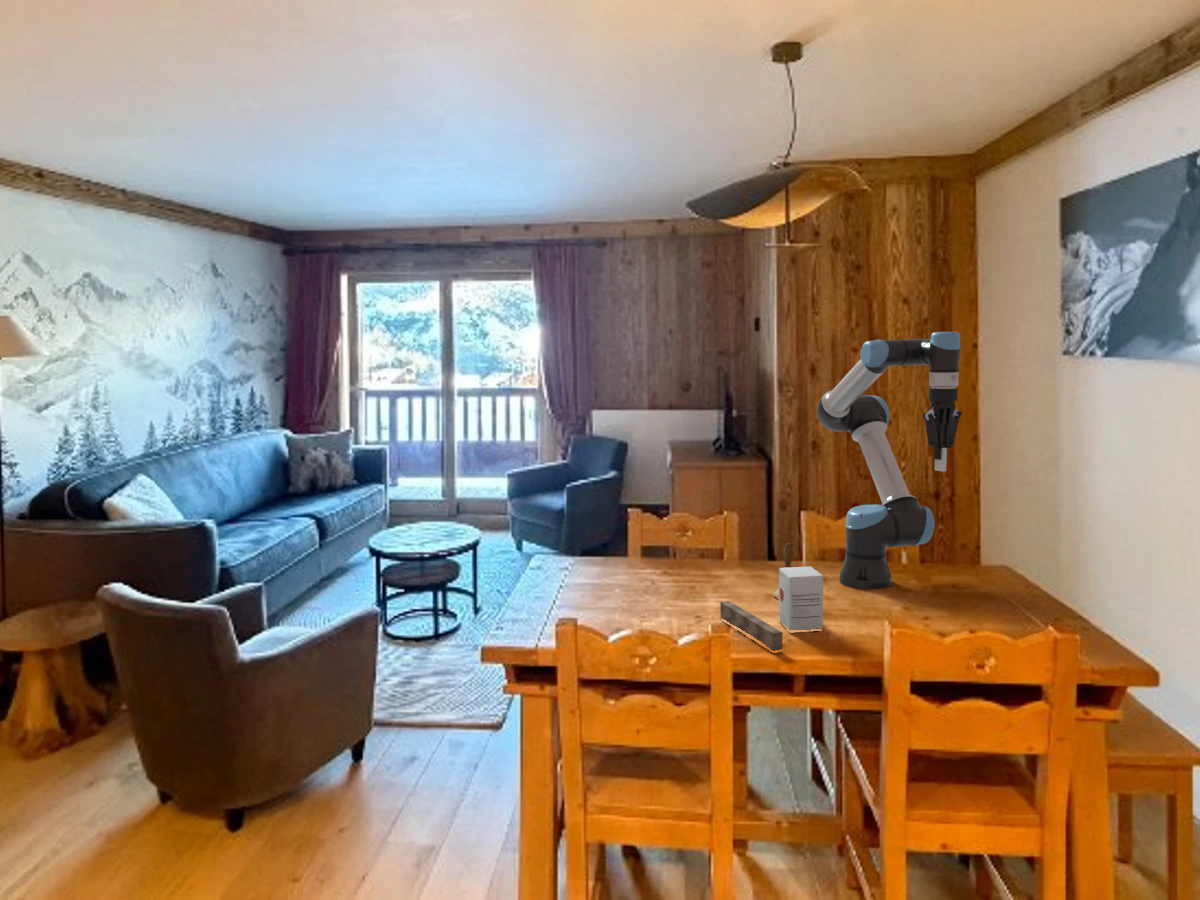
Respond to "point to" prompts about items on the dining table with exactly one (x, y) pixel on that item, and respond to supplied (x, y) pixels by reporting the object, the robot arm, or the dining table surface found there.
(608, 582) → the dining table surface
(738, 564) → the dining table surface
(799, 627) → the supplement box
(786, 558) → the hand bell
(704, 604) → the dining table surface
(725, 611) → the board
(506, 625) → the dining table surface
